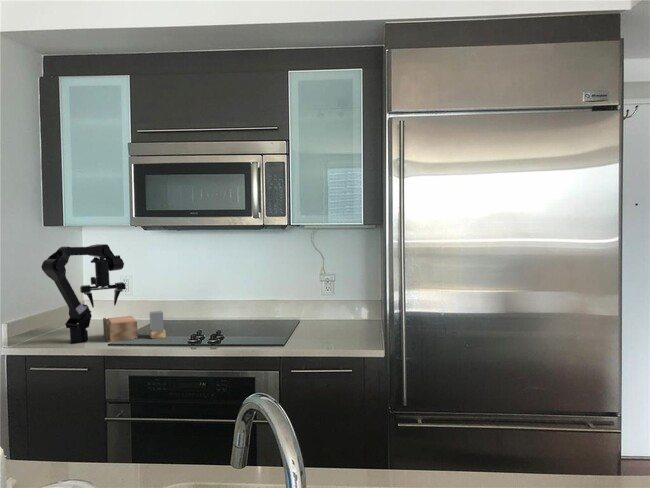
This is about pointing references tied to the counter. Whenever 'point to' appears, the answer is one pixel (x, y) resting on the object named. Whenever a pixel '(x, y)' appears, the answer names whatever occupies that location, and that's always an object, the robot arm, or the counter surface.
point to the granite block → (156, 321)
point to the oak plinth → (157, 334)
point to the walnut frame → (119, 330)
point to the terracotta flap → (121, 319)
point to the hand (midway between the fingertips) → (104, 306)
